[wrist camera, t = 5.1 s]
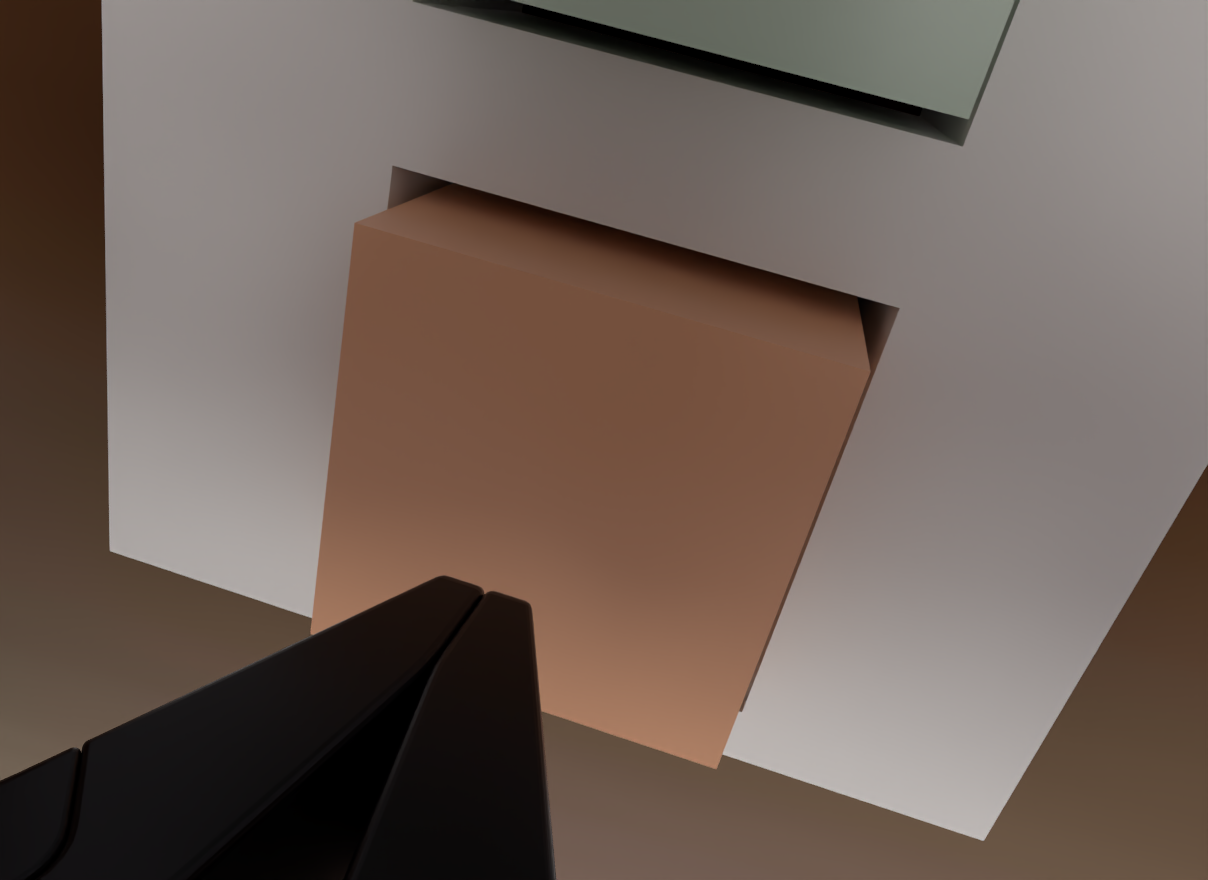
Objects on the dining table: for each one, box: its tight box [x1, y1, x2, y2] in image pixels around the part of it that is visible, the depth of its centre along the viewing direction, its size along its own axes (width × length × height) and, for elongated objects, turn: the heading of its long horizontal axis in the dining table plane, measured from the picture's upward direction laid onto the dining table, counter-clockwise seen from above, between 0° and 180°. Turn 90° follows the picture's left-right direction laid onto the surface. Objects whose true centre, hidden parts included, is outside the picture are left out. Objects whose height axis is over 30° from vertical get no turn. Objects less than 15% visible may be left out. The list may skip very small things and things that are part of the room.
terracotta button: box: [310, 183, 871, 769], centre depth 12 cm, size 5×5×4 cm
